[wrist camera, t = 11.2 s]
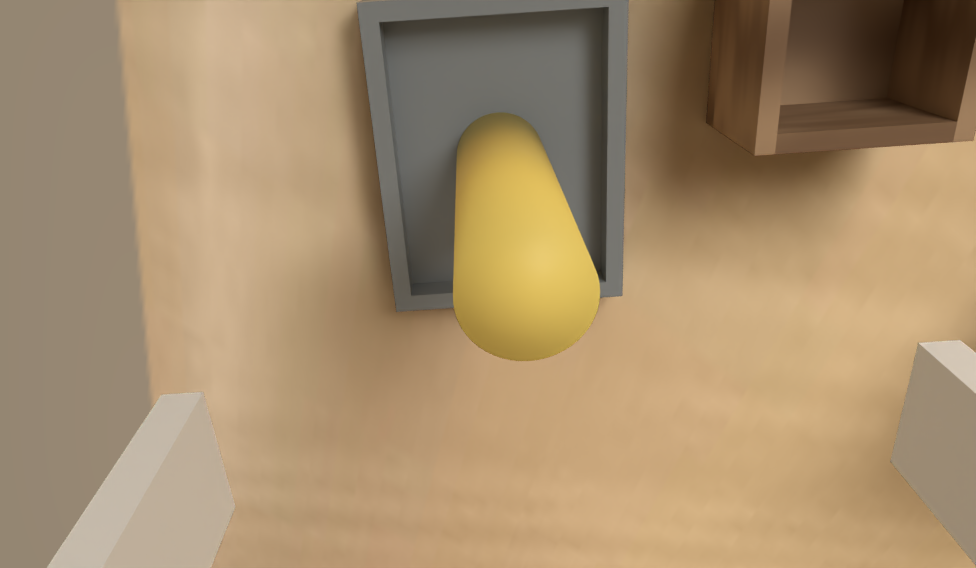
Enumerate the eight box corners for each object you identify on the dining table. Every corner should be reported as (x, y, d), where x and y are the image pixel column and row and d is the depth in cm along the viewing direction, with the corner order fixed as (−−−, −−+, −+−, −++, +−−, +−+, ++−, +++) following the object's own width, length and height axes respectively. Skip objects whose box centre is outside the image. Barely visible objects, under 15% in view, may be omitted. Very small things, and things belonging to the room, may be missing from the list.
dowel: (453, 115, 32) (447, 233, 18) (541, 109, 32) (600, 223, 19) (460, 200, 34) (459, 365, 20) (544, 194, 34) (599, 356, 20)
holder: (720, -85, 30) (778, -93, 24) (925, -98, 30) (1030, -110, 24) (706, 122, 33) (754, 155, 28) (889, 110, 33) (973, 140, 28)
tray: (362, -1, 30) (356, 2, 29) (618, -18, 31) (629, -16, 29) (399, 293, 36) (396, 311, 35) (614, 278, 36) (622, 296, 35)
